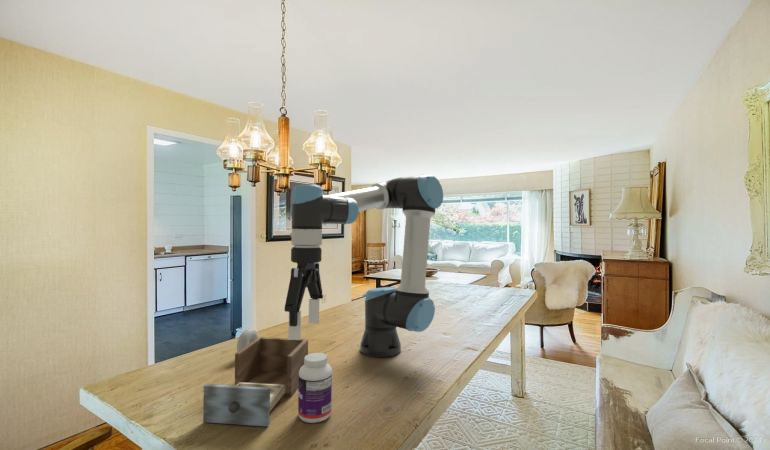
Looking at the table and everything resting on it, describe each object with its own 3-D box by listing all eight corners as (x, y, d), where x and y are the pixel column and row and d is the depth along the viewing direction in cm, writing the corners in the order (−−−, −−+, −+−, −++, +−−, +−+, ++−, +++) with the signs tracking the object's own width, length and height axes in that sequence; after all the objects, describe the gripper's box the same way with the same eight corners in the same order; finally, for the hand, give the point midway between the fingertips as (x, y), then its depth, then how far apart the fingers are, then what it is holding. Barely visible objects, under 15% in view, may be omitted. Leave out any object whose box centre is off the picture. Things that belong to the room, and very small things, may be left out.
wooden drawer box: (307, 374, 107) (308, 339, 107) (291, 397, 93) (291, 356, 93) (258, 372, 109) (258, 337, 109) (234, 393, 95) (235, 353, 95)
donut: (243, 363, 115) (244, 333, 115) (234, 362, 116) (234, 332, 116) (260, 352, 125) (260, 325, 125) (251, 351, 126) (252, 324, 126)
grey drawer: (289, 397, 93) (290, 365, 93) (265, 429, 78) (265, 392, 78) (234, 393, 94) (234, 362, 94) (200, 424, 79) (200, 388, 79)
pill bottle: (300, 407, 88) (301, 350, 88) (332, 406, 89) (333, 350, 89) (295, 426, 80) (296, 363, 80) (330, 424, 81) (331, 362, 81)
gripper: (309, 243, 100) (307, 317, 100) (270, 249, 76) (268, 346, 76) (334, 244, 99) (332, 318, 99) (303, 249, 75) (301, 348, 75)
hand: (304, 330), depth 87 cm, fingers open, 13 cm apart
